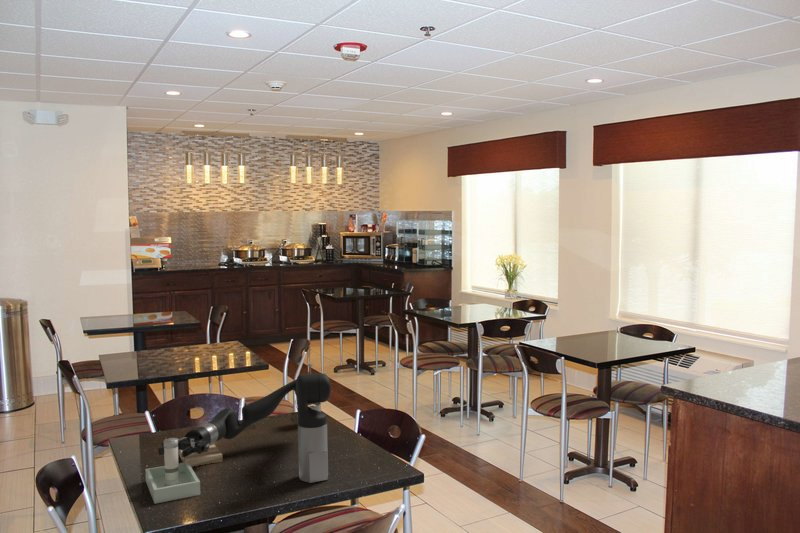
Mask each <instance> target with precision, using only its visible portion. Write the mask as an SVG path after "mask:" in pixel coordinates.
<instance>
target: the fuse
mask: <svg viewBox="0 0 800 533" xmlns="http://www.w3.org/2000/svg"><path fill="white" fill-rule="evenodd" d="M178 439H179V438H177V437H174V438H173V437H169V438H165V439H163V442H164V454H163V456H164V457H163V458H164V459H163V460H164V466H165V486H166V487H167V486H173V485H178V484H179V466H178V463H179V454H178Z"/></svg>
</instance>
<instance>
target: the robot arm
mask: <svg viewBox="0 0 800 533" xmlns="http://www.w3.org/2000/svg"><path fill="white" fill-rule="evenodd" d="M292 391H294V394H295V396H296V397H295V398H297V399H296V406H297V405H298V406H297V408H298V409H297V436H298V437H297V443H298V444H297V445H298V451H297V452H298V478H299V480H300V481H302V482H305V483H308V484H313V483H317V482H323V481H327V480H328V479H329V459H328V458H329V456H328V454H329V452H328V421H327V420H328V417H327V415H326V413H325V412H322V411H321V412H320V411H316V410H313V409H311V408H310V407H309V406H312V405H314V403H325V402H327V401H328V400H329V399H330V397H331V394H332V384H331V379H330V378H329V376H328V375H327V374H326V373H322V372H320V373H319V372H317V373H311V374H310V373H303V374H299V375H298V376H297V377H296V379H293V380H292V381H290V382H289V383H286V384H285V385H282V386H281V387H279V388H278V389H276V390H274V391H273V392H271V393H269V394H268V395H266V396H263V397H262V398H259V399H258V400H257V399H256V400H254V401H252V402H250V403H248V404H245V405H244V406H243V407H241V416H242V418H241V419H242V420H241V422H240V421H239V418H238V416H237V413H236V411H235V410H234V409H232V408H229V407H226V408H223V409H221V410H219V412H217V414H216V415H214V417H213V418H212V419H211V420H210V421H209V422H206V423H203V424H201V425H198V426H196V427H194V428H192V429H190V430H188V431H187V432H186V433H185V435H184V436H183V437H181V438H177V439H178V451H181V450H183V451H182V457H187V456H188V455H190V454H195V452H197V454H201V453H202V452H204V451H206V450H207V449H209V446H210V445H212V444H213V443H214V444H215V443H217V442H218V441H220V440H221V439H225V440H232V439H235V438H236V437H237V436H238V435H240V433H242V432H243V431H244V430H245V429H246V428H248V427H249V426H252V425H253V424H255V423H256V422H259V421H261V420H264V419H266V418H267V417H269V416H271V415H272V414H273V413H274V412H275V410H277V408H278V406H279V404H281V402H282V400H283V399H284V398H285V396H286V395H288V394H290V393H291V392H292ZM172 438H175V437H172ZM158 455H159V456H162V455H163V456H164V441H162V442H161V446H160V447H159V448H158Z"/></svg>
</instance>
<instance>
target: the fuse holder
mask: <svg viewBox="0 0 800 533" xmlns="http://www.w3.org/2000/svg"><path fill="white" fill-rule="evenodd" d="M182 451H183V450H181V451H178V457H179V458H180V459H181V461H182V463H184V462H188V463H189V464H190V466H191V468H193V467H194V466H195V467H199V465H201V466H205V464H206V465H211V463H212V464H216V463H217V464H218V463H222V462H223V454H222V452H221V451H220V450H219V448H218V447H217V446H216V445H215V442H214V443H213V444H212V445H210V446H209V449H207V450H206V451H204V452H202V453H201V454H197V452H195V454H190V455H188V456H187V457H182Z"/></svg>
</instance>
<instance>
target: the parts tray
mask: <svg viewBox="0 0 800 533" xmlns="http://www.w3.org/2000/svg"><path fill="white" fill-rule="evenodd" d="M178 466H179V484H178V485H173V486H167V487H166V486H165V465H162V466H161V465H160V466H157V467H156V466H155V467H150V468H149V467H148V468H145V483H146V485H147V488H148V490H149V494H150V495H151V498H152V501H153V504H159V503H160V504H161V503H166V502H170V501H176V500H181V499H185V498H191V497H196V496H201V481H200V479H199V477H198V476H197V474H196V472H195V471H194V469H193V467H191V466H190V464H189V463H188V462H184V463H183V462H180V463H179V462H178Z"/></svg>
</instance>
